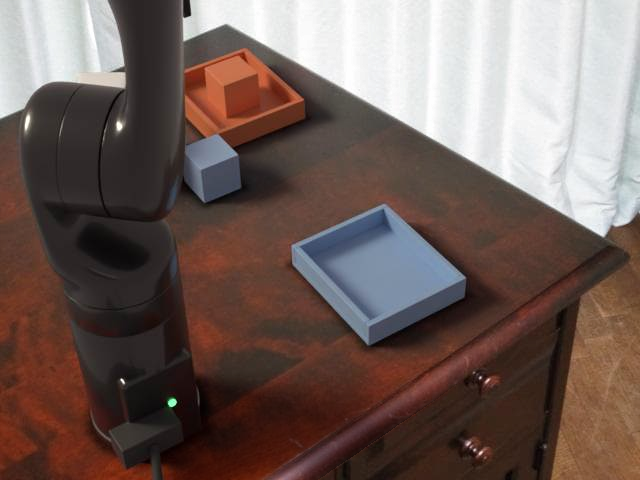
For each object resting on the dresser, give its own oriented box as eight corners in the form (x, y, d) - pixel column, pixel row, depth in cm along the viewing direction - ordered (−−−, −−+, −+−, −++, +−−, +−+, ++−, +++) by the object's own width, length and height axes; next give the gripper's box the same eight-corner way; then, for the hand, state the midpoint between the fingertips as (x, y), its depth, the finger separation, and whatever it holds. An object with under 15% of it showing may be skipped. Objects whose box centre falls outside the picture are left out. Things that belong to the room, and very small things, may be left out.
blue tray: (464, 297, 110) (466, 277, 108) (368, 346, 105) (368, 326, 104) (384, 222, 118) (384, 203, 116) (292, 264, 114) (291, 245, 112)
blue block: (241, 188, 123) (238, 154, 120) (204, 203, 121) (200, 170, 118) (220, 166, 125) (217, 133, 122) (184, 181, 124) (180, 148, 121)
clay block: (260, 105, 133) (258, 73, 130) (226, 118, 131) (223, 86, 128) (241, 87, 136) (238, 55, 133) (207, 100, 134) (204, 67, 131)
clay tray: (305, 118, 132) (304, 99, 130) (220, 152, 127) (218, 133, 126) (247, 65, 140) (245, 47, 138) (165, 96, 136) (162, 77, 134)
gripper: (159, -115, 106) (176, 38, 117) (289, -151, 112) (295, -3, 122) (123, -142, 111) (143, 7, 121) (250, -175, 116) (258, -30, 127)
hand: (219, 2), depth 122 cm, fingers open, 8 cm apart
